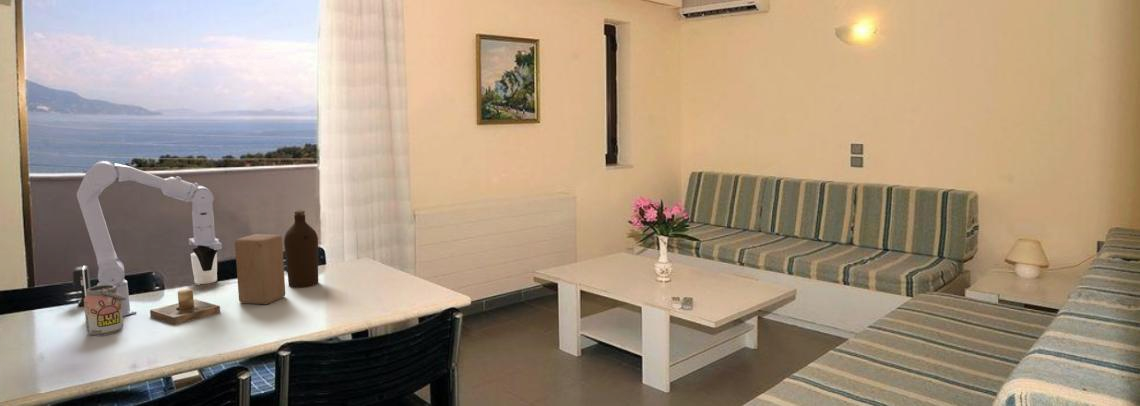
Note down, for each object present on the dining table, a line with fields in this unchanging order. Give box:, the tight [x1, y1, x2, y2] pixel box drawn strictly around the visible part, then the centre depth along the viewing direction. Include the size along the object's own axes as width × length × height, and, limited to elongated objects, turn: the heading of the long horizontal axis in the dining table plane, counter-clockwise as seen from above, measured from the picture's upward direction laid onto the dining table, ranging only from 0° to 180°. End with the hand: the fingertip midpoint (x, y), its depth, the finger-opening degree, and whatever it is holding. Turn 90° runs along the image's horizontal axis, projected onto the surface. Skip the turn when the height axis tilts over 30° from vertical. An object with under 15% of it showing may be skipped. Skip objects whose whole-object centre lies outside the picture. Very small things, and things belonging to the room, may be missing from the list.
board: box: [149, 298, 221, 325], centre depth 198 cm, size 13×13×2 cm
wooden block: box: [234, 233, 286, 305], centre depth 211 cm, size 10×10×20 cm
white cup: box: [190, 251, 218, 285], centre depth 234 cm, size 8×8×10 cm
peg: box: [177, 288, 194, 310], centre depth 197 cm, size 4×4×7 cm
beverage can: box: [84, 285, 126, 337], centre depth 183 cm, size 9×8×12 cm
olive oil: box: [283, 209, 319, 288], centre depth 230 cm, size 11×11×25 cm
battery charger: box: [72, 265, 91, 307], centre depth 208 cm, size 7×4×11 cm, turn 32°
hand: (207, 270), depth 209 cm, fingers closed
